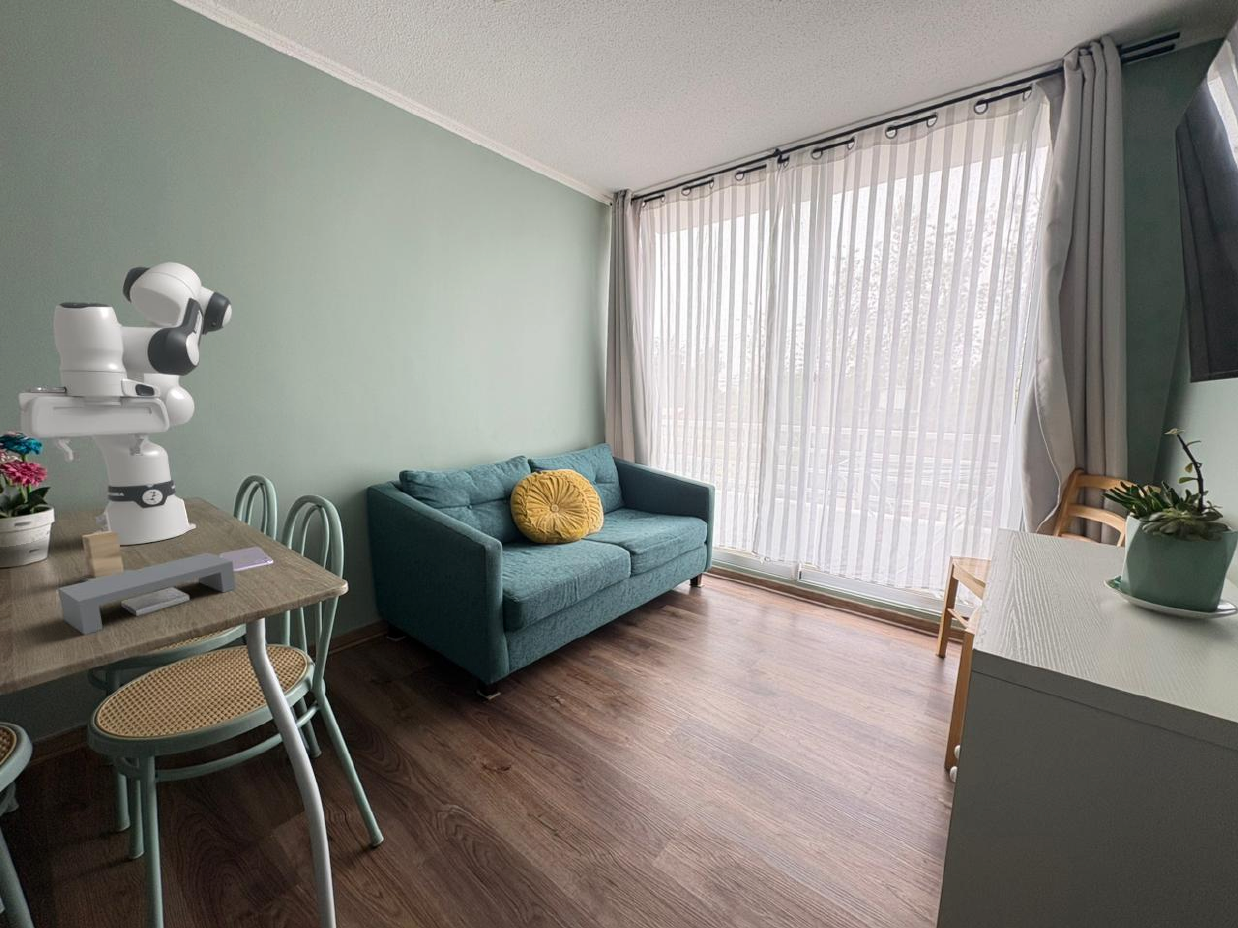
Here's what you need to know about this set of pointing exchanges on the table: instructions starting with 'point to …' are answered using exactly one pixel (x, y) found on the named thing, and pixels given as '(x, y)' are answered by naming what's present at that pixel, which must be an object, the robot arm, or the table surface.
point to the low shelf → (140, 586)
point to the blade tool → (102, 555)
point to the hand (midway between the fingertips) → (106, 458)
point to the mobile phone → (247, 558)
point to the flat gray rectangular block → (154, 601)
